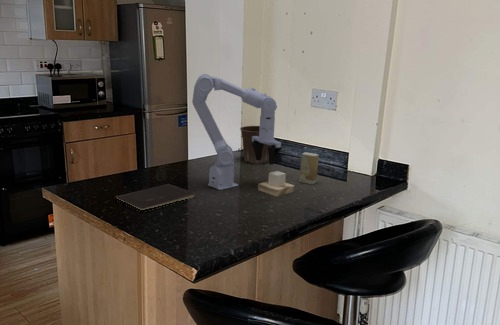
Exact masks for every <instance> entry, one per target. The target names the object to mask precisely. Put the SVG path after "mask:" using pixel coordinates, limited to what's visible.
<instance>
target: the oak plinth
mask: <svg viewBox="0 0 500 325" xmlns="http://www.w3.org/2000/svg"><path fill="white" fill-rule="evenodd" d="M257 185H258V186H257V190H258V191H260V192H263V193H265V194H268V195H271V196H273V197H280V196H284V195H286V194H287V195H288V194H291V193H295V191H296V190H295V189H296V185H295V184H291V183H288V182H286V181H285V185H283V186H279V187H275V186H272V185H269V184H268V181H264V182H261V183H258V184H257Z"/></svg>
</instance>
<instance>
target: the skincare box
mask: <svg viewBox="0 0 500 325" xmlns="http://www.w3.org/2000/svg"><path fill="white" fill-rule="evenodd" d="M319 156H320V154H318V153H314V152H303V153H301V158H300V168H299V169H300V171H299V180H298V182H299V183H302V184H303V183H304V184H308V185H314V184H316V183H317V180H318V179H317V178H318V168H319V159H320V158H319Z"/></svg>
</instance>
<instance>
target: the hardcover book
mask: <svg viewBox="0 0 500 325" xmlns="http://www.w3.org/2000/svg"><path fill="white" fill-rule="evenodd" d="M195 195H196V193H195V192H193V191H190V190H187V189H184V188H182V187H179V186H177V185H173V184H171V183H168V184H163V185H159V186H153V187H150V188H146V189H142V190H137V191H133V192H129V193H124V194H121V195H116V196H115V198H117V199H119V200H121V201H123V202H126V203H128V204H130V205H132V206H134V207H136V208H138V209H140V210H145V209H149V208H154V207H158V206H162V205H165V204H169V203H173V202H176V201H181V200H184V201H186V200H185V199H188V200H190V199H189V198H191V199H194V198H195ZM193 197H194V198H193ZM115 198H114V199H115ZM181 202H182V201H181ZM173 204H174V203H173Z"/></svg>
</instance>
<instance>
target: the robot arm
mask: <svg viewBox="0 0 500 325" xmlns="http://www.w3.org/2000/svg"><path fill="white" fill-rule="evenodd" d="M213 89H214V91H225V92H227V93H230V94H232V95H234V96H237V97H239V98H240V99H241V100H242V102H243V103H244V104H246V105H249V106H252V107H253V108H256V109H260V117H259V126H260V129H259V136H252V141H254V142H253V143H251V145H252V147H253V149H254V152H255V157H256V160H261V158H262V150H263V146H264V144H267V145H271V146H270V147H267V148H268V152H269V161H268V164H269V165H270V166H271V165H274V164H275V162H276V159H277V157H278V154H279V153H280V151H281V149H282V142H281V141H279V140H276V138H274V136H275V124H276V123H275V120H276V116H275V115H276V110H277V109H278V108H277V107H278V106H277V102H276V100H275V99H274V98H273V97H271V96H269V95H267V93H262V92H259V91H257V90H256V88H254V87H251V88H250V87H247V88H246V89H244V88H242V87H240V86H237V85H235V84H233V83H230V82H229V81H227V80H224V79H222V78H220V77H217V76H211V75H209V74H207V73H205V74H204V73H203V74H201V75H199V76H198V78H197V79H196V82H195V84H194V86H193V94H192V100H191V101H192V102H191V103H192V105H193V107H194V110H195V111H196V113H197V115H198V117H199V119H200V121H201V123H202V125H203V127H204V130H205V131H206V133H207V135H208V137H209V139H210V141H211V142H212V145H213V147H214V150H215V153H216V155H217V156H216V157H217V158H216V159H217V160H216V161H215V164H214V165H211V167H209V172H208V177H209V178H208V184H207V186H209V187H212V188H214V189H217V190H220V191H222V190H227V189H230V188H235V187H238V186H239V184H238V183H235V176H234V175H235V162H234V159H235V156H234V150H233V148H232V147H231V146H230V145H229V144H227V142H226V140H225V138H224V136H223V135H222V133H221V131H220V129H219V127H218V124H217V122H216V121H215V119H214V117H213V114H212V112H211V111H210V109H209V106H208V105H207V102H206V101H207V98H208V96H209V94H210V93H211V92H212V90H213Z"/></svg>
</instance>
